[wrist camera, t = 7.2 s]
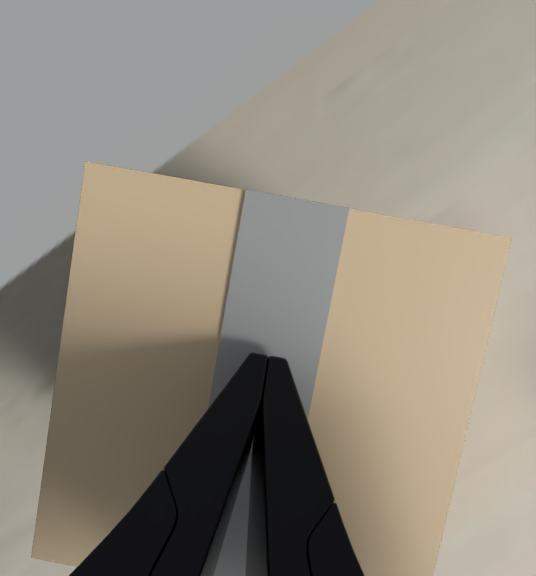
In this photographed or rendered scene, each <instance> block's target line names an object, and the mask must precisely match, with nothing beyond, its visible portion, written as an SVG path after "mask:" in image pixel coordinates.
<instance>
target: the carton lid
mask: <svg viewBox="0 0 536 576" xmlns="http://www.w3.org/2000/svg"><path fill="white" fill-rule="evenodd" d="M511 240H512V238H510V237H505V236H499V235H493V234H488V233H482V232H477V231H471V230H466V229H460V228H454V227H449V226H443V225H438V224H432V223H427V222H421V221H416V220H410V219H404V218H399V217H393V216H388V215H382V214H377V213H371V212H365V211H360V210H354V209H349V208H347V207H341V206H336V205H330V204H324V203H319V202H313V201H308V200H302V199H297V198H291V197H285V196H280V195H274V194H269V193H263V192H258V191H252V190H247V189H246V190H243V189H238V188H232V187H226V186H221V185H215V184H210V183H204V182H199V181H193V180H187V179H182V178H176V177H171V176H165V175H160V174H154V173H149V172H143V171H137V170H132V169H126V168H120V167H115V166H110V165H104V164H98V163H93V162H87V161H85V166H84V174H83V181H82V188H81V196H80V203H79V210H78V217H77V225H76V232H75V239H74V247H73V254H72V261H71V269H70V276H69V283H68V291H67V298H66V305H65V313H64V320H63V327H62V335H61V342H60V349H59V357H58V364H57V371H56V379H55V386H54V393H53V401H52V408H51V415H50V423H49V430H48V437H47V445H46V452H45V459H44V467H43V474H42V481H41V489H40V496H39V503H38V511H37V518H36V525H35V533H34V540H33V547H32V555H31V558H35V559H40V560H45V561H50V562H55V563H61V564H66V565H71V566H76V567H78V566H79V565H80V564H81V562H82V561H83V560H84V559H85V558H86V557H87V556H88V555H89V554H90V553H91V552H92V551H93V550H94V549H95V548H96V547H97V546H98V545H99V543H100V542H101V541H102V540H103V539H104V538H105V537H106V536H107V535H108V534H109V533H110V532H111V531H112V529H113V528H114V527H115V526H116V525H117V524H118V523H119V522H120V520H121V519H122V518H123V517H124V516H125V515H126V514H127V513H128V512H129V510H130V509H131V508H132V507H133V506H134V504H135V503H136V502H137V501H138V499H139V498H140V497H141V496H142V494H143V493H144V492H145V491H146V489H147V488H148V487H149V486H150V484H151V483H152V482H153V480H154V479H155V478H156V476H157V475H158V474H159V472H160V471H161V470H164V466H165V465H166V464H167V462H168V461H169V460H170V458H171V457H172V456H173V454H174V453H175V452H176V450H177V449H178V448H179V446H180V445H181V444H182V442H183V441H184V440H185V438H186V437H187V436H188V434H189V433H190V432H191V430H192V429H193V428H194V426H195V425H196V424H197V422H198V421H199V420H200V418H201V417H202V416H203V415H204V413H205V412H206V411H207V409H208V408H209V407H210V405H211V404H212V403H213V401H214V400H215V399H216V397H217V396H218V395H219V393H220V392H221V391H222V389H223V388H224V387H225V385H226V384H227V383H228V381H229V380H230V379H231V377H232V376H233V375H234V373H235V372H236V371H237V370H238V368H239V367H240V366H241V364H242V363H243V362H244V360H245V359H246V358H247V356H248V355H249V354H250V353H251V352H255V353H261V354H266V355H267V356H268V358H269V356H277V357H282V358H285V359H286V360H287V361H288V364H289V367H290V370H291V373H292V375H293V378H294V381H295V384H296V387H297V390H298V393H299V396H300V399H301V402H302V405H303V407H304V410H305V413H306V416H307V419H308V422H309V425H310V428H311V431H312V434H313V436H314V439H315V442H316V445H317V448H318V451H319V454H320V457H321V460H322V463H323V465H324V468H325V471H326V474H327V477H328V480H329V483H330V486H331V489H332V492H333V495H334V497H335V501H334V503H337V506H338V508H339V511H340V514H341V517H342V520H343V523H344V526H345V528H346V531H347V534H348V536H349V539H350V542H351V544H352V547H353V550H354V552H355V554H356V557H357V559H358V561H359V564H360V566H361V568H362V570H363V573H364V575H365V576H433V574H434V570H435V566H436V561H437V557H438V553H439V549H440V544H441V540H442V536H443V531H444V527H445V523H446V519H447V514H448V510H449V506H450V501H451V497H452V493H453V489H454V484H455V480H456V476H457V471H458V467H459V463H460V459H461V454H462V450H463V446H464V442H465V437H466V433H467V429H468V424H469V420H470V416H471V412H472V407H473V403H474V399H475V394H476V390H477V386H478V382H479V377H480V373H481V369H482V364H483V360H484V356H485V352H486V347H487V343H488V339H489V335H490V330H491V326H492V322H493V317H494V313H495V309H496V305H497V300H498V296H499V292H500V287H501V283H502V279H503V275H504V270H505V266H506V262H507V258H508V253H509V249H510V245H511ZM253 439H254V438H253ZM252 446H253V443H252ZM251 457H252V447H251V451H250V455H249V459H248V462H247V465H246V469H245V472H244V475H243V479H242V482H241V485H240V489H239V492H238V495H237V499H236V502H235V505H234V508H233V512H232V515H231V518H230V522H229V525H228V528H227V532H226V535H225V538H224V542H223V545H222V548H221V552H220V555H219V558H218V562H217V565H216V568H215V572H214V575H213V576H245V575H246V555H247V535H248V516H249V496H250V476H251Z"/></svg>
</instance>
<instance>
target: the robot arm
mask: <svg viewBox="0 0 536 576" xmlns="http://www.w3.org/2000/svg"><path fill="white" fill-rule="evenodd" d="M253 438H254V439H253ZM252 443H253V446H252ZM251 447H252V457H251V476H250V496H249V516H248V535H247V555H246V575H245V576H365V575H364V573H363V570H362V568H361V566H360V564H359V561H358V559H357V557H356V554H355V552H354V550H353V547H352V544H351V542H350V539H349V536H348V534H347V531H346V528H345V526H344V523H343V520H342V517H341V514H340V511H339V508H338V506H337V503H334V501H335V497H334V495H333V492H332V489H331V486H330V483H329V480H328V477H327V474H326V471H325V468H324V465H323V463H322V460H321V457H320V454H319V451H318V448H317V445H316V442H315V439H314V436H313V434H312V431H311V428H310V425H309V422H308V419H307V416H306V413H305V410H304V407H303V405H302V402H301V399H300V396H299V393H298V390H297V387H296V384H295V381H294V378H293V375H292V373H291V370H290V367H289V364H288V361H287V360H286V359H285V358H282V357H277V356H269V358H268V356H267V355H266V354H261V353H255V352H251V353H250V354H249V355H248V356H247V358H246V359H245V360H244V362H243V363H242V364H241V366H240V367H239V368H238V370H237V371H236V372H235V373H234V375H233V376H232V377H231V379H230V380H229V381H228V383H227V384H226V385H225V387H224V388H223V389H222V391H221V392H220V393H219V395H218V396H217V397H216V399H215V400H214V401H213V403H212V404H211V405H210V407H209V408H208V409H207V411H206V412H205V413H204V415H203V416H202V417H201V418H200V420H199V421H198V422H197V424H196V425H195V426H194V428H193V429H192V430H191V432H190V433H189V434H188V436H187V437H186V438H185V440H184V441H183V442H182V444H181V445H180V446H179V448H178V449H177V450H176V452H175V453H174V454H173V456H172V457H171V458H170V460H169V461H168V462H167V464H166V465H165V466H164V470H161V471H160V472H159V474H158V475H157V476H156V478H155V479H154V480H153V482H152V483H151V484H150V486H149V487H148V488H147V489H146V491H145V492H144V493H143V494H142V496H141V497H140V498H139V499H138V501H137V502H136V503H135V504H134V506H133V507H132V508H131V509H130V510H129V512H128V513H127V514H126V515H125V516H124V517H123V518H122V519H121V520H120V522H119V523H118V524H117V525H116V526H115V527H114V528H113V529H112V531H111V532H110V533H109V534H108V535H107V536H106V537H105V538H104V539H103V540H102V541H101V542H100V543H99V545H98V546H97V547H96V548H95V549H94V550H93V551H92V552H91V553H90V554H89V555H88V556H87V557H86V558H85V559H84V560H83V561H82V562H81V564H80V565H79V566H78V567H77V568H76V569H75V570H74V571H73V572H72V573H71V574H70V575H69V576H213V575H214V572H215V568H216V565H217V562H218V558H219V555H220V552H221V548H222V545H223V542H224V538H225V535H226V532H227V528H228V525H229V522H230V518H231V515H232V512H233V508H234V505H235V502H236V499H237V495H238V492H239V489H240V485H241V482H242V479H243V475H244V472H245V469H246V465H247V462H248V459H249V455H250V451H251Z"/></svg>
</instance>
